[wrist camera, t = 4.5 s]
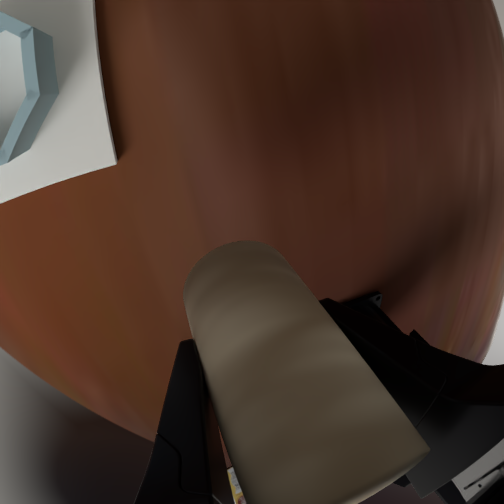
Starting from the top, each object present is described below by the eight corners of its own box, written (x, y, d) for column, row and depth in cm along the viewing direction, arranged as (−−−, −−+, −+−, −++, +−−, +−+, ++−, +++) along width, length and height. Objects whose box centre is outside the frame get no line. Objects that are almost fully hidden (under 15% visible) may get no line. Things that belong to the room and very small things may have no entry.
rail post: (288, 228, 11) (458, 421, 4) (290, 314, 13) (398, 481, 6) (171, 257, 10) (251, 528, 3) (196, 342, 12) (265, 540, 5)
